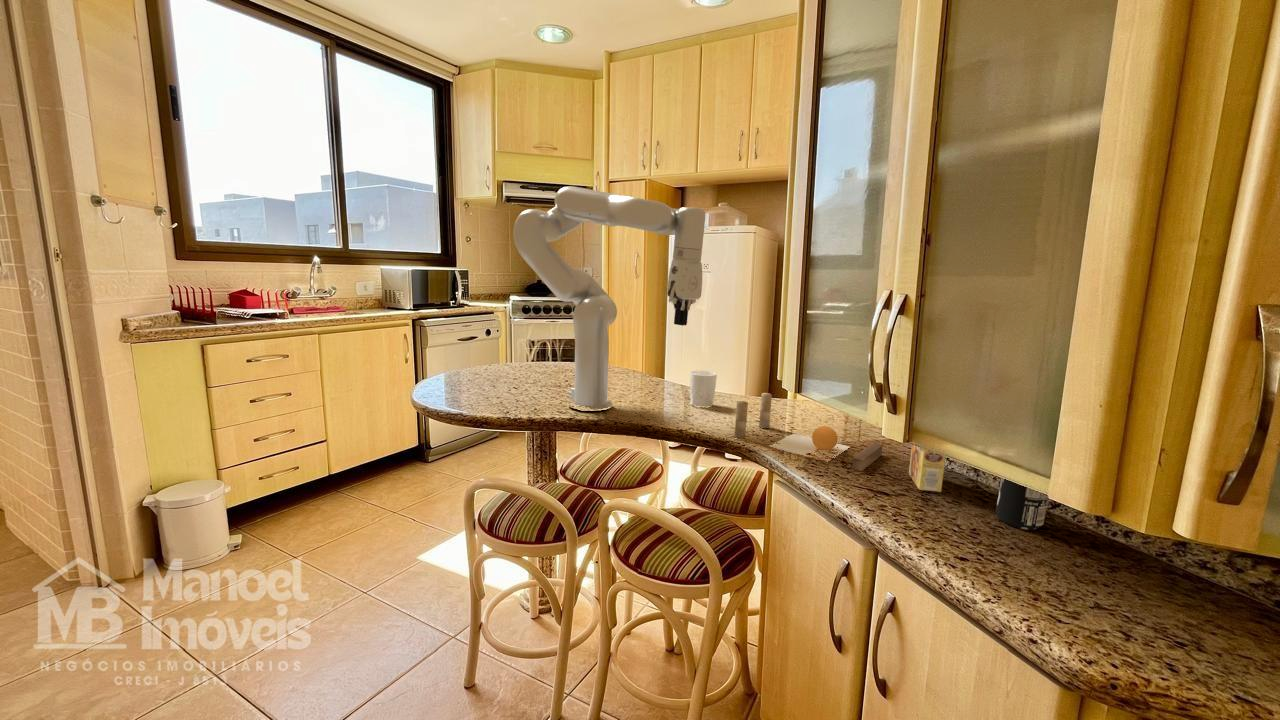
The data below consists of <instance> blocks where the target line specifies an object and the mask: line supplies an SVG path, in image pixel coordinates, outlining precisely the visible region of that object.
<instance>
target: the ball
mask: <svg viewBox="0 0 1280 720" xmlns="http://www.w3.org/2000/svg"><path fill="white" fill-rule="evenodd" d="M811 437H812V441H813V444H814V445H815V446H816V447H817V448H818V449H820V450H825V451H826V450H830V449H832V448H834V447H835V445H836V444H838V435H837V432H836V431H835V429H833V428H832V427H830V426H827V425H822V426H818V427H816V428H815V429H814V430H813V432H812V435H811Z"/></svg>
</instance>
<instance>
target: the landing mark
mask: <svg viewBox="0 0 1280 720" xmlns="http://www.w3.org/2000/svg"><path fill="white" fill-rule="evenodd" d="M776 442H777V443H778V442H779V443H780V444H777V445H776ZM776 442H775V445H776V447H775V445H774V443H772V444H773V446H772V444H770V445H769V446H770V447H769V448H771V447H774V448H778V449H781V450H780V451H782V450H784V451H783V452H786V451H788V452H787V453H790V452H792V453H791V454H793V453H796V454H795V455H797V454H801V455H802V454H803V455H806V454H805V453H811V452H812V453H813V452H815V451H814V450H816V449H818V448H817V447H816V446H815V445H814V444H813V441H812V436H811V437H810V436H807V435H802V434H798V433H795V432H794V433H792V434H790V435H788V436H785V437H784V438H782V439H780V440H778V441H776ZM837 447H838V448H837ZM774 448H773V449H774ZM848 448H849V449H850V448H851V446H849V445H844V444H841V443H837V444H836V445H835V447H834V449H835V450H837V451H838V453H837V455H836V454H835V455H834V456H835V457H836V456H837V457H839V456H840V455H842V454H843V453H845V452H846V451H847V450H849V449H848ZM778 449H777V450H778ZM830 450H831V449H830ZM845 450H846V451H845ZM844 451H845V452H844ZM842 452H843V453H842ZM812 453H811V454H812ZM841 453H842V454H841ZM839 454H840V455H839ZM801 455H800V456H801ZM838 455H839V456H838ZM834 456H833V457H834ZM830 457H831V456H830ZM835 457H834V459H836V458H837V457H836V458H835ZM827 462H828V461H827ZM827 462H826V463H827Z"/></svg>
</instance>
